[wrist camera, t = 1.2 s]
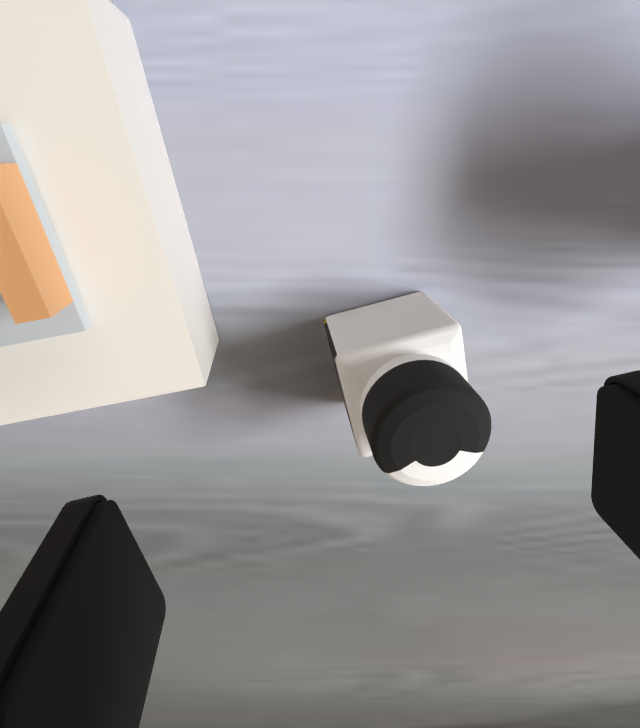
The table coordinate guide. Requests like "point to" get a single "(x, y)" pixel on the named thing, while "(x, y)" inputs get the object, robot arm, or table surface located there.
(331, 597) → the table surface
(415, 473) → the medicine bottle
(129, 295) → the socket
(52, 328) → the grey tile with orange
